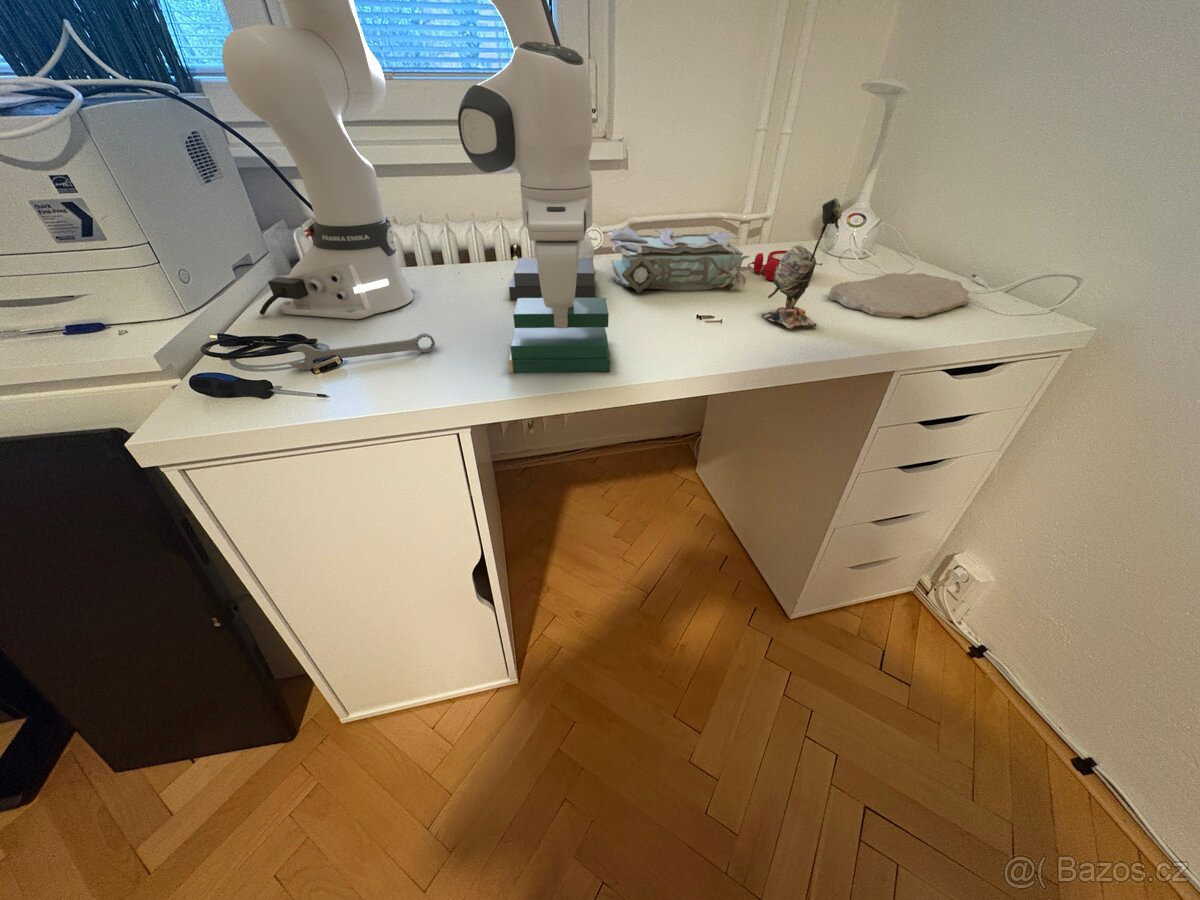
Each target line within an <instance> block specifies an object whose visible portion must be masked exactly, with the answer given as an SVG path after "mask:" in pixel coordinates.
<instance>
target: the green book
mask: <svg viewBox="0 0 1200 900" xmlns="http://www.w3.org/2000/svg"><path fill="white" fill-rule="evenodd" d="M512 316H513V325H514V329H515V328H556V327H555V326H554V314H553V309H552V308H549V307H546V306H545V304H544V301H543V298H517V300H516V303H515V306H514V310H513V315H512ZM567 319H568V326H567V327H566V328H586V327H605V328H609V308H608V302H607V297H595V298H574V303H573V306H572V307H568V314H567Z"/></svg>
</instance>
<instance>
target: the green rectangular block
mask: <svg viewBox="0 0 1200 900" xmlns="http://www.w3.org/2000/svg"><path fill="white" fill-rule="evenodd" d="M509 347H510V352H509V353H510V354H509V357H508V367H509V373H511V374H513V373H514V374H516V373H517V374H518V373H519V374H520V373H523V374H525V373H610V372H611V356H610V348H609V347H610V346H609V340H608V335H607V330H606V327H586V328H515V327H514V330H513V334H512V339H511V342H510V346H509Z"/></svg>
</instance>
